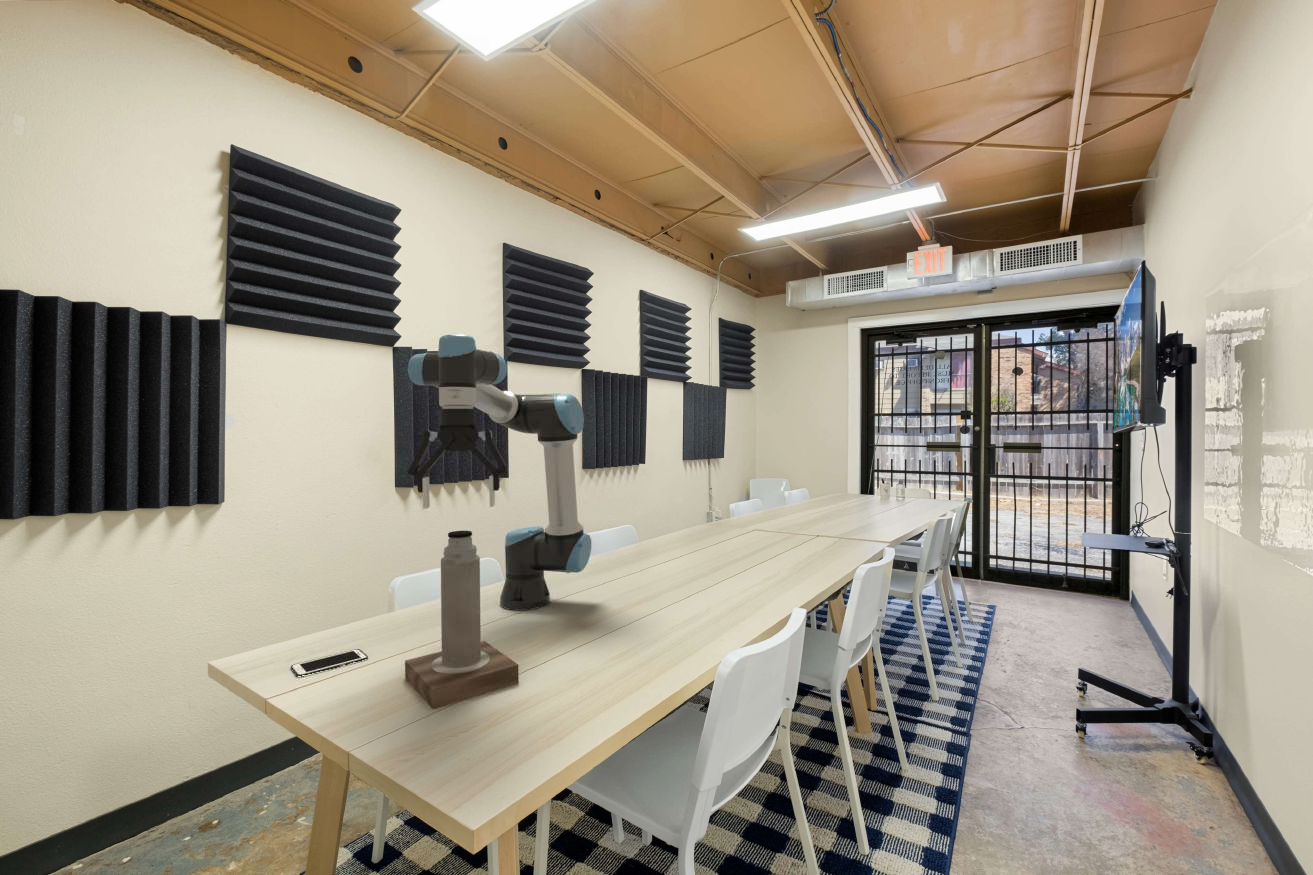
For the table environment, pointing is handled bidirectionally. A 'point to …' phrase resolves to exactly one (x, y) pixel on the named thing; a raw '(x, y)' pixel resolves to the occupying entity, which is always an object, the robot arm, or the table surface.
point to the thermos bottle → (460, 602)
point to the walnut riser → (460, 676)
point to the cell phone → (328, 662)
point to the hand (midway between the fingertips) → (459, 507)
